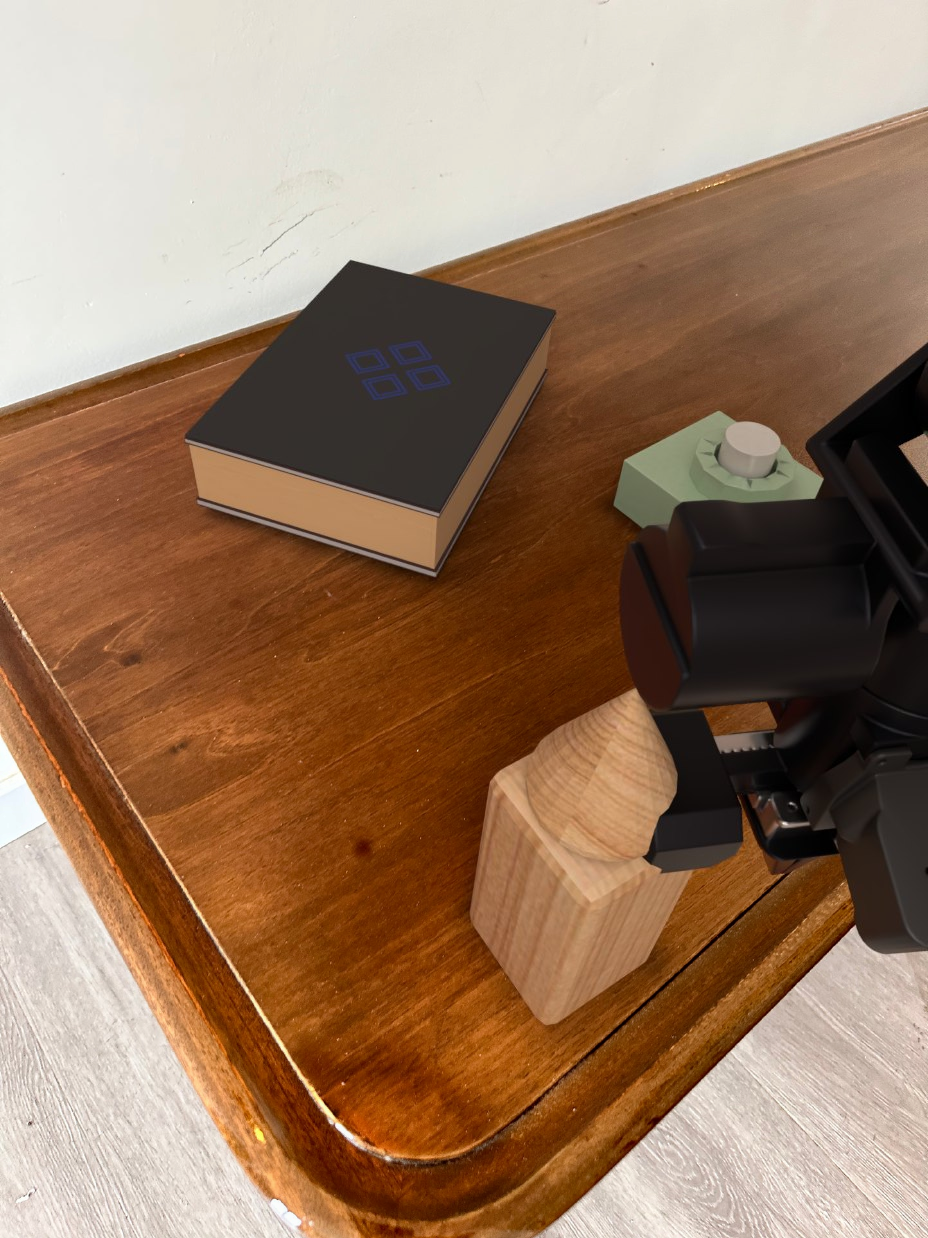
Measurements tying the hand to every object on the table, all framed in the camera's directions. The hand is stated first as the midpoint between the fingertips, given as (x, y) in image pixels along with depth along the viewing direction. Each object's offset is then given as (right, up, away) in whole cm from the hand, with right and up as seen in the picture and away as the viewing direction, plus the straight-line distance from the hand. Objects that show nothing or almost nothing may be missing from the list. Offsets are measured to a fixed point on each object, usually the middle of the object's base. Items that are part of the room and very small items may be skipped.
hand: (774, 865), depth 44 cm
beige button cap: (+4, +22, +19) cm, 29 cm away
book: (-20, +25, +27) cm, 42 cm away
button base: (+4, +18, +23) cm, 30 cm away
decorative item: (-10, -4, +2) cm, 11 cm away
